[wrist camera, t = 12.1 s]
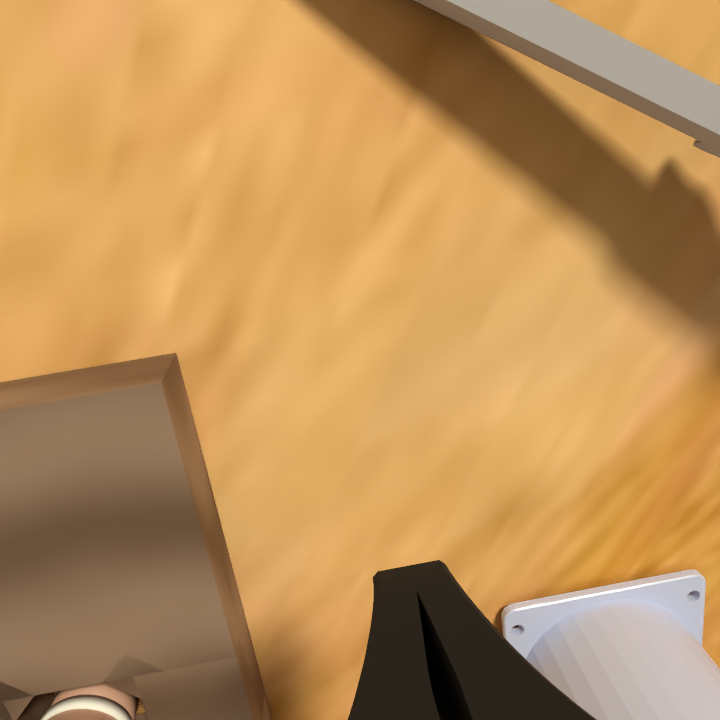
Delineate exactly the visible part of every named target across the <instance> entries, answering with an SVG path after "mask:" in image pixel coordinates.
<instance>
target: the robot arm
mask: <svg viewBox="0 0 720 720" xmlns="http://www.w3.org/2000/svg"><path fill="white" fill-rule="evenodd" d="M373 583H374V602H373V613H372V621H371V628H370V633H369V639H368V644H367V650H366V655H365V660H364V664H363V668H362V672H361V676H360V679H359V683H358V687H357V691H356V695H355V698H354V702H353V705H352V708H351V712H350V715H349V718H348V720H720V669H719V667H718V666H717V665H716V664H715V662H714V661H713V660H712V659H711V657H710V656H709V655H708V654H707V652H706V651H705V650H704V649H703V647H702V639H703V622H704V605H705V588H706V581H705V578H704V577H703V576H702V575H701V574H700V573H699V572H698V571H697V570H694V569H693V570H685V571H679V572H674V573H669V574H664V575H658V576H653V577H648V578H643V579H638V580H632V581H627V582H622V583H617V584H611V585H606V586H601V587H596V588H591V589H585V590H580V591H575V592H570V593H565V594H559V595H554V596H549V597H544V598H538V599H533V600H528V601H523V602H518V603H513V604H510V605H508V606H506V607H505V608H504V609H503V611H502V614H501V621H502V633H503V636H502V635H501V633H500V632H499V631H498V630H497V629H496V628H495V627H494V626H493V625H492V624H491V622H490V621H489V620H488V619H487V618H486V617H485V616H484V615H483V614H482V612H481V611H480V610H479V609H478V608H477V606H476V605H475V604H474V603H473V602H472V600H471V599H470V598H469V597H468V595H467V594H466V593H465V592H464V590H463V589H462V588H461V586H460V585H459V584H458V582H457V581H456V580H455V578H454V577H453V575H452V574H451V572H450V571H449V569H448V568H447V566H446V565H445V564H444V563H443V562H441V561H440V560H437V561H432V562H426V563H421V564H416V565H410V566H405V567H400V568H394V569H389V570H384V571H378V572H377V573H376V574H375V576H374V577H373ZM692 591H693V592H692ZM690 592H692V593H691V594H689V593H690ZM516 625H519V626H518V627H517V628H513V627H514V626H516Z"/></svg>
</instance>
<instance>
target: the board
mask: <svg viewBox="0 0 720 720" xmlns="http://www.w3.org/2000/svg"><path fill="white" fill-rule="evenodd" d="M98 683H105V684H108V685H110V686H112V687H114V688H117V689H119V690H121V691H124V692H126V693H128V694H131V695H133V696H135V697H138V698H140V699H141V700H142V703H143V706H144V708H145V711H146V713H141V714H136V715H135V718H134V720H272V717H271V714H270V710H269V706H268V702H267V698H266V695H265V691H264V687H263V683H262V679H261V675H260V672H259V668H258V664H257V660H256V656H255V653H254V649H253V645H252V641H251V637H250V633H249V630H248V626H247V622H246V618H245V614H244V611H243V607H242V603H241V599H240V595H239V591H238V588H237V584H236V580H235V576H234V572H233V568H232V565H231V561H230V557H229V553H228V549H227V546H226V542H225V538H224V534H223V530H222V526H221V523H220V519H219V515H218V511H217V507H216V504H215V500H214V496H213V492H212V488H211V484H210V481H209V477H208V473H207V469H206V465H205V462H204V458H203V454H202V450H201V446H200V442H199V439H198V435H197V431H196V427H195V423H194V420H193V416H192V412H191V408H190V404H189V400H188V397H187V393H186V389H185V385H184V381H183V378H182V374H181V370H180V366H179V362H178V358H177V355H176V353H173V354H167V355H161V356H155V357H150V358H144V359H138V360H132V361H126V362H120V363H114V364H108V365H102V366H96V367H90V368H84V369H78V370H73V371H67V372H61V373H55V374H49V375H43V376H37V377H31V378H25V379H19V380H13V381H7V382H1V383H0V720H41V718H42V716H43V715H44V713H45V712H46V711H47V710H48V709H49V708H50V707H51V705H52V703H53V700H54V698H55V695H54V693H53V692H56V691H61V690H66V689H72V688H77V687H82V686H87V685H93V684H98Z"/></svg>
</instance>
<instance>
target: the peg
mask: <svg viewBox="0 0 720 720" xmlns="http://www.w3.org/2000/svg"><path fill="white" fill-rule="evenodd" d="M138 701H139V698H138V697H135V696H133V695H131V694H128V693H126V692H124V691H121V690H119V689H117V688H114V687H112V686H110V685H108V684H105V683H98V684H93V685H87V686H82V687H77V688H72V689H66V690H61V691H57V693H56V696H55V698H54V700H53V703H52V705H51V707H50V708H49V709H48V710H47V711H46V712H45V713H44V715H43V716H42V718H41V720H134V718H135V714H136V710H137V706H138Z"/></svg>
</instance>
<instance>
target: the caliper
mask: <svg viewBox="0 0 720 720" xmlns="http://www.w3.org/2000/svg"><path fill="white" fill-rule="evenodd" d="M414 1H416V2H418V3H420V4H422V5H424V6H426V7H428V8H430V9H432V10H434V11H436V12H438V13H440V14H442V15H444V16H446V17H448V18H451V19H453V20H455V21H457V22H459V23H461V24H463V25H465V26H467V27H469V28H471V29H473V30H475V31H477V32H479V33H481V34H483V35H485V36H487V37H489V38H491V39H493V40H495V41H498V42H500V43H502V44H504V45H506V46H508V47H510V48H512V49H514V50H516V51H518V52H520V53H522V54H524V55H526V56H528V57H530V58H532V59H534V60H536V61H538V62H540V63H542V64H544V65H546V66H548V67H550V68H552V69H555V70H557V71H559V72H561V73H563V74H565V75H567V76H569V77H571V78H573V79H575V80H577V81H579V82H581V83H583V84H585V85H587V86H589V87H591V88H593V89H595V90H597V91H599V92H601V93H603V94H605V95H607V96H609V97H611V98H613V99H615V100H617V101H619V102H622V103H624V104H626V105H628V106H630V107H632V108H634V109H636V110H638V111H640V112H642V113H644V114H646V115H648V116H650V117H652V118H654V119H656V120H658V121H660V122H662V123H664V124H666V125H668V126H670V127H672V128H674V129H676V130H678V131H680V132H682V133H684V134H686V135H689V136H691V137H693V138H695V139H696V140H695V142H694V144H693V145H694V146H695V147H697V148H699V149H701V150H703V151H705V152H708V153H710V154H713V155H715V156H718V157H720V86H719V85H717V84H715V83H713V82H711V81H709V80H707V79H705V78H703V77H701V76H699V75H697V74H695V73H693V72H691V71H689V70H687V69H685V68H683V67H681V66H679V65H677V64H675V63H673V62H671V61H669V60H667V59H665V58H663V57H661V56H659V55H657V54H655V53H653V52H651V51H649V50H647V49H645V48H643V47H641V46H639V45H637V44H635V43H633V42H631V41H629V40H627V39H625V38H622V37H620V36H618V35H616V34H614V33H612V32H610V31H608V30H606V29H604V28H602V27H600V26H598V25H596V24H594V23H592V22H590V21H588V20H586V19H584V18H582V17H580V16H578V15H576V14H574V13H572V12H570V11H568V10H566V9H564V8H562V7H560V6H558V5H556V4H554V3H552V2H550V1H548V0H414Z"/></svg>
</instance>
